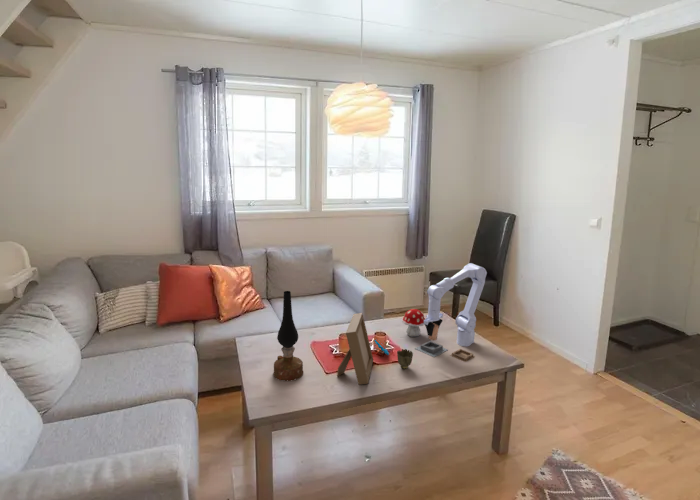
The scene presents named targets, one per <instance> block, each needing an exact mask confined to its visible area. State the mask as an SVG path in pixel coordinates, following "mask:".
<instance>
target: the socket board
mask: <svg viewBox="0 0 700 500" xmlns="http://www.w3.org/2000/svg"><path fill="white" fill-rule="evenodd" d="M443 346H444V345H442V344H439V343H437V342H434V341H433V340H429V341H426V342H425V343H422V344H420V345H419V346H417V347H415V348H414V350H417V351H419V352H421V353H422V354H423V353H424V354H426V355H428V356H430V357H433V358H437V356H440V355H441V354H443V353H445V352H448V350H449V349H448V348H445V347H443Z"/></svg>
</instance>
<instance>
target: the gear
mask: <svg viewBox="0 0 700 500" xmlns="http://www.w3.org/2000/svg"><path fill="white" fill-rule="evenodd" d="M376 340H377V339H376ZM376 340H375V339H374V343H375V344H376V346H377V345H378V347H379V348H381V352H384V354H385V355H387V356H389V355H390V352H389V350H388V349H387V348H385V349H384V348H383V347H382V346H381V345H380V344H379V343H378V342H377V341H376Z"/></svg>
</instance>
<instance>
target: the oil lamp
mask: <svg viewBox="0 0 700 500" xmlns="http://www.w3.org/2000/svg"><path fill="white" fill-rule="evenodd" d="M277 332H278V333H277V337H276V339H277V342H278V343H279V344H280V346H282V347H281V352H282V354H283V355H278V356H277V359H276V360H275V361H274V362H273V373H272V374H273V377H274V378H275V379H276V378H277V379H276V380H278V379H279V380H278V381H281V380H285V381H284V382H292V381H296V380H299V379H300V378H302V377H303V375H304V369H303V366H304V365H303V361H302V359H301V358H299V357H296V356H294V352H295V349H296V348H295V344H296V343H297V342H298V340H299V333H298V330H297V327H296V325H295V322H294V319H293V307H292V295H291V291H290V290H285V291H283V307H282V321H281V323H280V327H279V330H278V331H277ZM295 379H296V380H295ZM287 380H288V381H287ZM291 380H292V381H291Z"/></svg>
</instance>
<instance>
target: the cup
mask: <svg viewBox="0 0 700 500" xmlns="http://www.w3.org/2000/svg"><path fill="white" fill-rule="evenodd" d="M396 353H397V355H396V357H397V363H398V364H399V366H400V368H401V369H402V370H408V369H409V366H410V365H411V364H412V361H413V356H414V352H413V351H412V350H409V349H406V348H405V349H403V348H402V349H401V350H400V349H399V350H397V351H396Z"/></svg>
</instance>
